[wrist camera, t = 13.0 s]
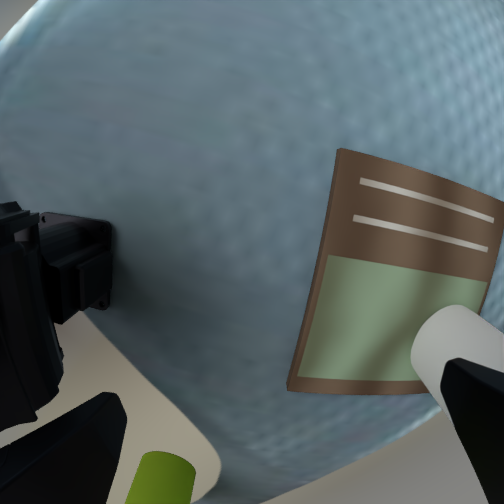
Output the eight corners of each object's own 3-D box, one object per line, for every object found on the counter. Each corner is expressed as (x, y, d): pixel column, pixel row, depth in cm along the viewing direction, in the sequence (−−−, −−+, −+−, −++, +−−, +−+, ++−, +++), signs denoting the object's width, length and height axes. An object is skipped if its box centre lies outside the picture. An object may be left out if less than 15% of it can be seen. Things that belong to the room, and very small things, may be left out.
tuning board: (286, 383, 22) (287, 391, 21) (337, 149, 18) (341, 147, 17) (440, 385, 22) (445, 392, 21) (500, 202, 18) (508, 204, 17)
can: (435, 291, 19) (549, 379, 7) (483, 314, 19) (577, 387, 7) (393, 366, 20) (464, 483, 8) (445, 379, 20) (514, 470, 9)
